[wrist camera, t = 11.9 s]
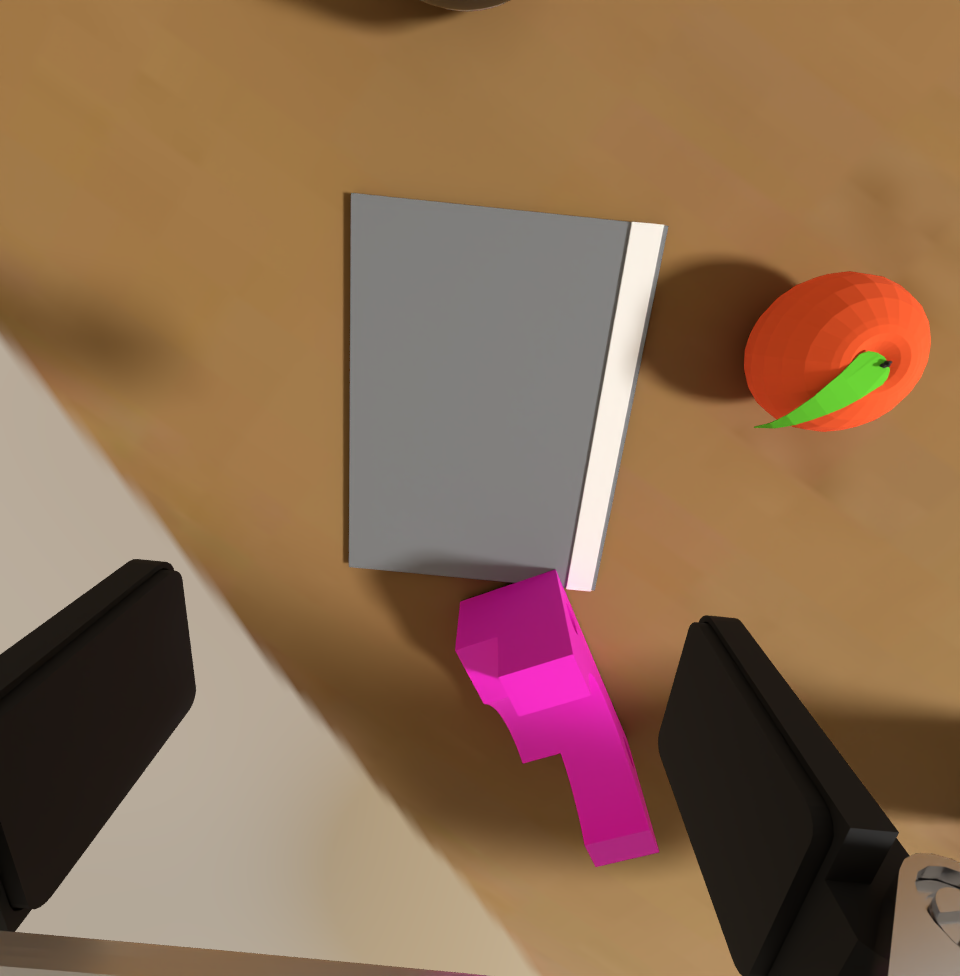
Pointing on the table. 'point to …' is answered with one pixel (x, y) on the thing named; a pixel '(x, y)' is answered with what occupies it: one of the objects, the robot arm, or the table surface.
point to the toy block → (557, 706)
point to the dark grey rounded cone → (466, 4)
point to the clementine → (836, 352)
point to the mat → (491, 385)
